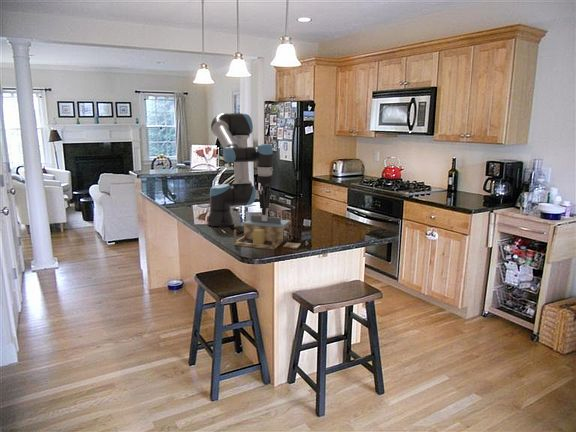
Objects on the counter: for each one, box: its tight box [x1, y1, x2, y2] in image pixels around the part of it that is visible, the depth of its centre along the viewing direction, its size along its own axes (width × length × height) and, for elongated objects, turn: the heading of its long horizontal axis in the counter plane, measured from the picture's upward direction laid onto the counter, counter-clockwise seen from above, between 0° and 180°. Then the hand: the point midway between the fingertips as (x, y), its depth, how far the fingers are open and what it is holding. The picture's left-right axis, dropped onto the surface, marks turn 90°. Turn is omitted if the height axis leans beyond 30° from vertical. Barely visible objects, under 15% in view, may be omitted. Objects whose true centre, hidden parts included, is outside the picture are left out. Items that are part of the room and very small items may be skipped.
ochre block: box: [252, 229, 266, 245], centre depth 217 cm, size 4×4×7 cm
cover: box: [243, 214, 291, 228], centre depth 228 cm, size 21×14×4 cm, turn 73°
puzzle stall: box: [233, 220, 292, 250], centre depth 224 cm, size 21×28×8 cm
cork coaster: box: [282, 241, 302, 249], centre depth 215 cm, size 7×7×1 cm
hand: (264, 220), depth 224 cm, fingers closed
